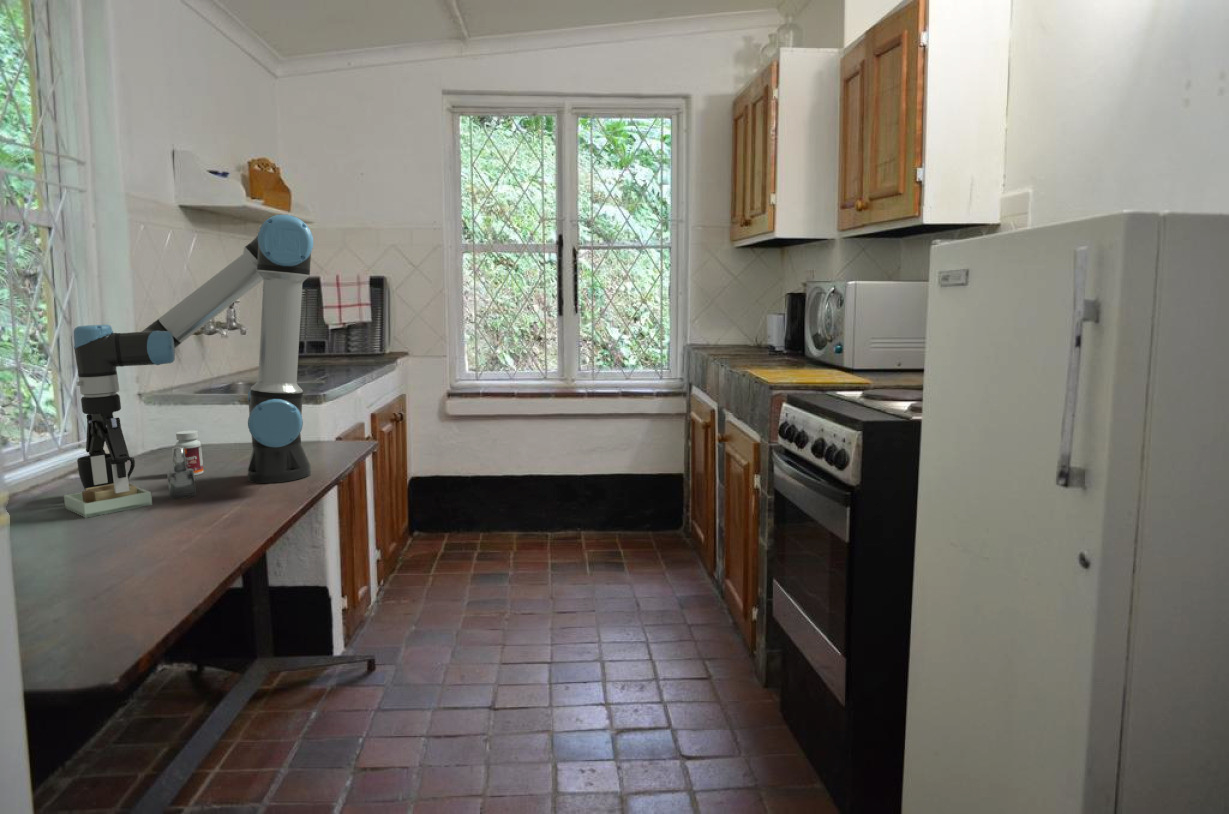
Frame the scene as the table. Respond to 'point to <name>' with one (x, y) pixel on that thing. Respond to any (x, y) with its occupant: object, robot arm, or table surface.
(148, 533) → the table surface
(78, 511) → the tray
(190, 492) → the grey piece
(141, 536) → the table surface
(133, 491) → the wooden rectangular frame
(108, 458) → the mug
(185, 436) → the pill bottle
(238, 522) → the table surface
